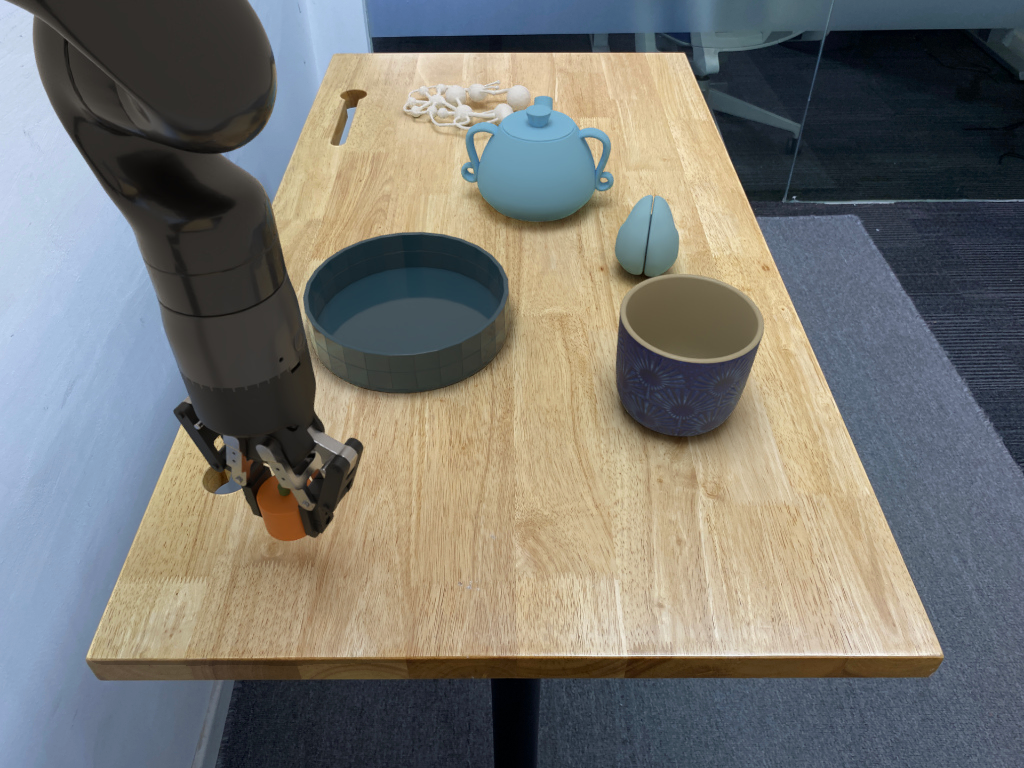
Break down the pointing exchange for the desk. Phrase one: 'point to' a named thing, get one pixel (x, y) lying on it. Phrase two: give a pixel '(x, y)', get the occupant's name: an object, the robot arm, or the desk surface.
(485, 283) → the bowl
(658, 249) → the toy flower bud
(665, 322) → the planter
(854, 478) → the desk surface
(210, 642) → the desk surface
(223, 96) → the robot arm
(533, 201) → the blue sugar bowl
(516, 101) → the tangled rod sculpture
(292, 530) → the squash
